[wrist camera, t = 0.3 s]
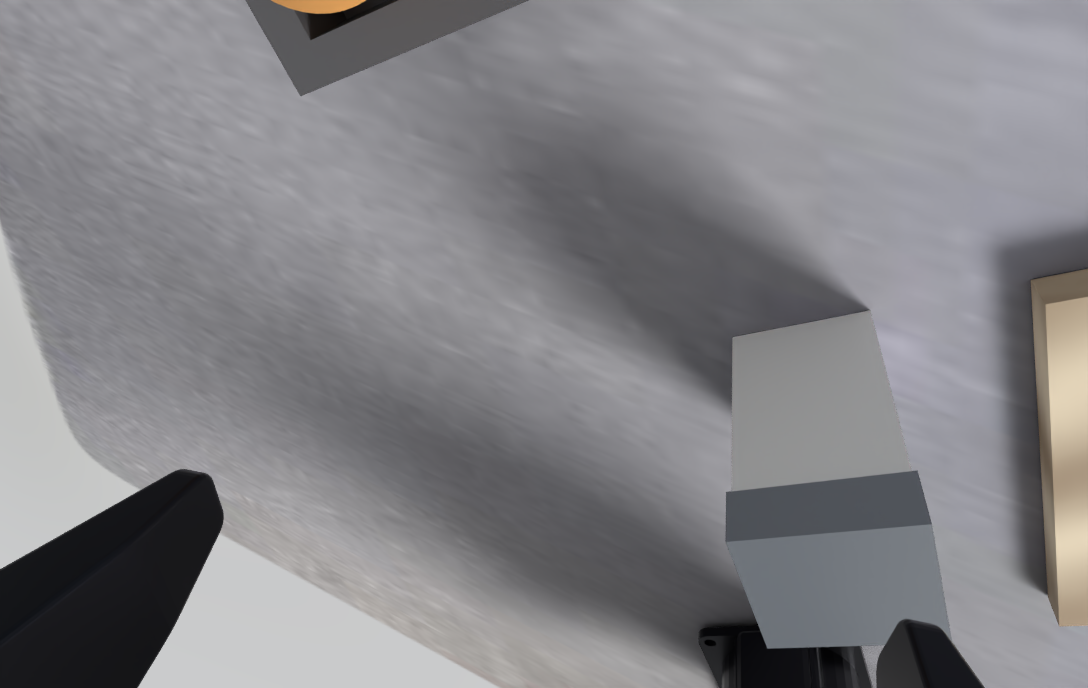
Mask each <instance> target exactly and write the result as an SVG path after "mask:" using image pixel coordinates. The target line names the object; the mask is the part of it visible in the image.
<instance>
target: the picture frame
mask: <svg viewBox="0 0 1088 688" xmlns="http://www.w3.org/2000/svg"><path fill="white" fill-rule="evenodd" d="M1031 296H1032V314H1033V333H1034V351H1035V369H1036V388H1037V406H1038V425H1039V443H1040V461H1041V480H1042V498H1043V516H1044V535H1045V553H1046V571H1047V590H1048V598H1049V601H1050V604H1051V606H1052V609H1053V611H1054V614H1055V616H1056V619H1057V622H1058V624H1059V626H1085V625H1088V269H1084V270H1079V271H1074V272H1069V273H1064V274H1059V275H1053V276H1048V277H1043V278H1038V279H1033V280H1031Z"/></svg>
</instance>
